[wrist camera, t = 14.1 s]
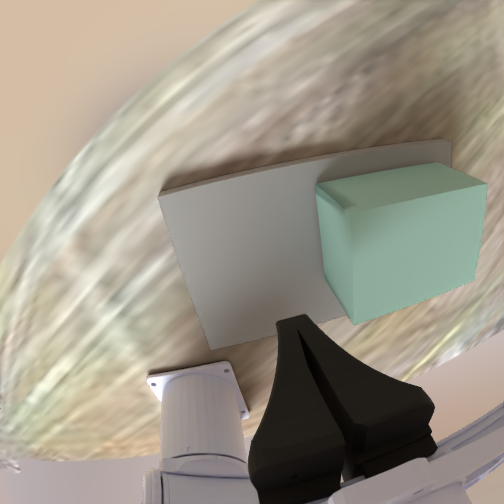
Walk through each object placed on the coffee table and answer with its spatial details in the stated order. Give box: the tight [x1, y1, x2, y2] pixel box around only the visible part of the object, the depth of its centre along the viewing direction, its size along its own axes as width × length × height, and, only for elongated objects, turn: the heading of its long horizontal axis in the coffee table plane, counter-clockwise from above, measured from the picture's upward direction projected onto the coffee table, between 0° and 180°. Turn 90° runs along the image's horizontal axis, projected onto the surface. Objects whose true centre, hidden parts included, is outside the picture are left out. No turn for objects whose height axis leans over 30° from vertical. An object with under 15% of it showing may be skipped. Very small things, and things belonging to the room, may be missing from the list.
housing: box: [315, 162, 487, 325], centre depth 19 cm, size 7×10×5 cm
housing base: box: [157, 139, 452, 350], centre depth 22 cm, size 13×22×4 cm, turn 101°
